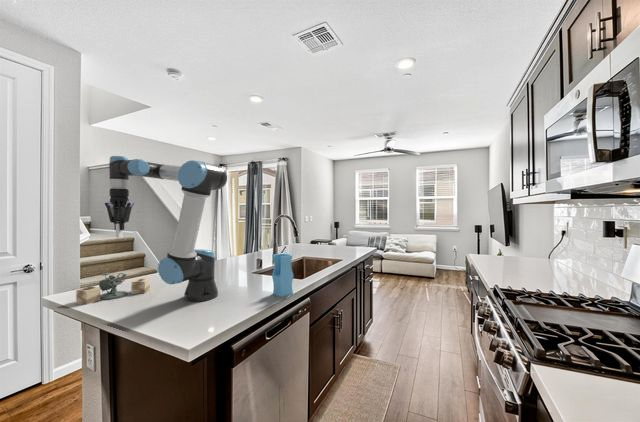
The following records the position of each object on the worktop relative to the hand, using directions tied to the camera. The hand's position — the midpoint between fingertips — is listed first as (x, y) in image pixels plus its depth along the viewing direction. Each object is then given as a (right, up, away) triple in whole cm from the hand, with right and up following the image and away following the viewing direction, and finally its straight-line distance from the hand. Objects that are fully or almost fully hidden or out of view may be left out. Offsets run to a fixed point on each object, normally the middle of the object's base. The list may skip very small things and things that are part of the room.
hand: (119, 236), depth 133 cm
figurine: (-3, -29, -1) cm, 29 cm away
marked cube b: (-8, -29, -8) cm, 31 cm away
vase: (+78, -30, +7) cm, 84 cm away
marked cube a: (+6, -29, +7) cm, 30 cm away
